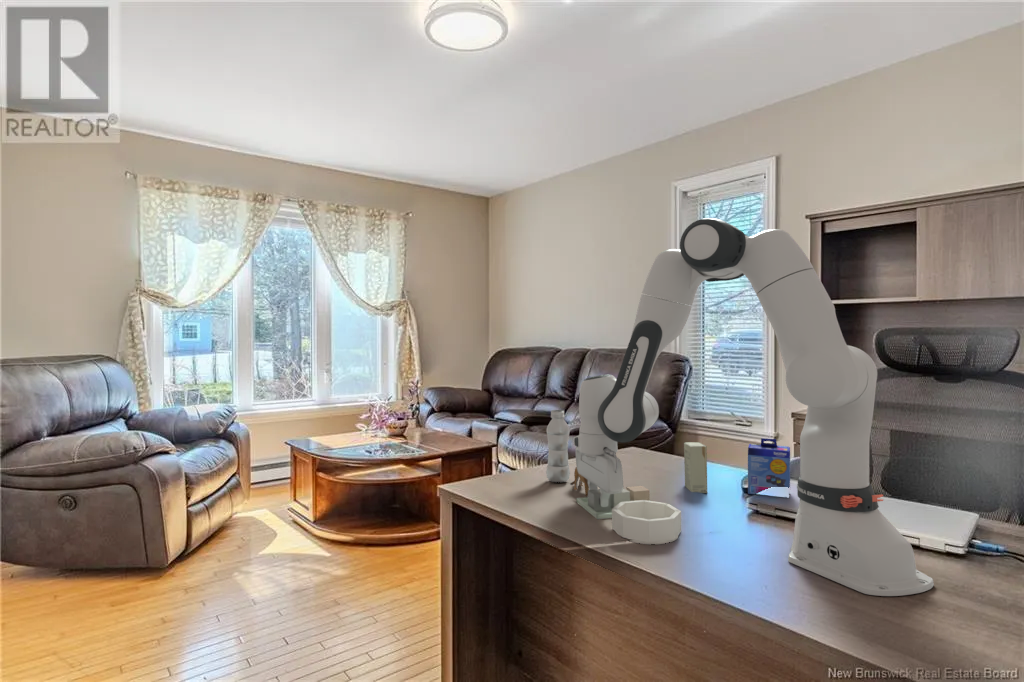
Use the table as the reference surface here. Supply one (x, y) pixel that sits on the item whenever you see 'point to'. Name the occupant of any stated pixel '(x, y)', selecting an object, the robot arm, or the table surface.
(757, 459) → the ink cartridge box
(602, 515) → the tray
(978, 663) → the table surface
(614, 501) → the pale grey cube
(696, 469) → the skincare box
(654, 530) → the bowl
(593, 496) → the gray cube
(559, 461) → the plastic bottle
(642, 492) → the tan cube
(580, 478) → the lion figurine
